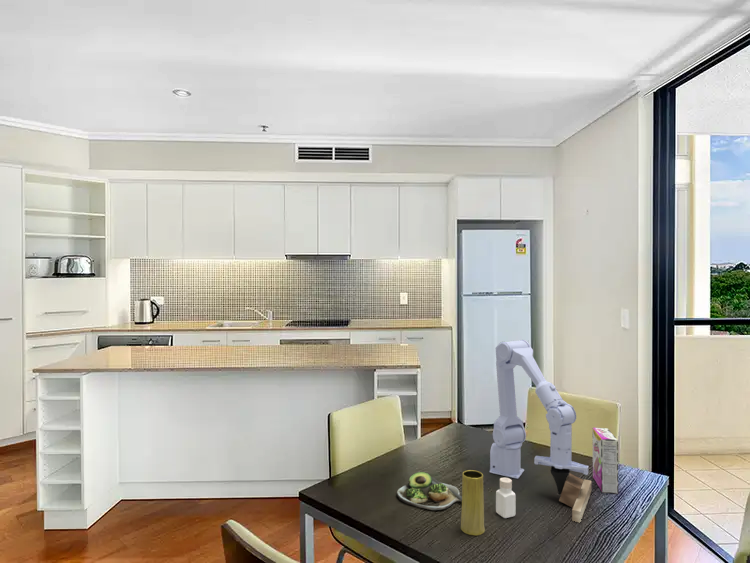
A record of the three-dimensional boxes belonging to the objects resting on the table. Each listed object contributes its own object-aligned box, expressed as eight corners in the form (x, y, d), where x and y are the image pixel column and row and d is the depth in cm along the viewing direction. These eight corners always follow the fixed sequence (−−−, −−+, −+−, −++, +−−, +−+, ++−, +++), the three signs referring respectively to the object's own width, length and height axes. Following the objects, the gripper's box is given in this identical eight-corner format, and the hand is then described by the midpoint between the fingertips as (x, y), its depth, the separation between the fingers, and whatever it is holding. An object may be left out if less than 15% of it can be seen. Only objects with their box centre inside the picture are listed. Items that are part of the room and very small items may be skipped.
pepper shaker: (495, 512, 128) (495, 478, 128) (506, 509, 130) (506, 475, 130) (504, 519, 125) (504, 484, 125) (516, 516, 126) (516, 481, 126)
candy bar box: (591, 477, 151) (591, 426, 151) (608, 478, 150) (608, 427, 150) (600, 493, 140) (601, 438, 140) (618, 494, 139) (619, 439, 139)
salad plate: (476, 495, 139) (476, 480, 139) (449, 520, 125) (449, 503, 125) (420, 479, 151) (420, 464, 151) (389, 500, 136) (389, 484, 136)
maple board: (572, 520, 124) (572, 509, 124) (584, 489, 143) (584, 479, 143) (580, 523, 123) (580, 511, 123) (591, 490, 142) (591, 480, 142)
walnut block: (558, 500, 133) (565, 481, 132) (563, 491, 139) (569, 473, 138) (573, 508, 131) (579, 489, 130) (577, 498, 137) (583, 479, 136)
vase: (457, 523, 123) (458, 469, 122) (480, 522, 123) (480, 468, 123) (464, 536, 116) (464, 479, 116) (488, 535, 117) (488, 478, 117)
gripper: (532, 446, 136) (531, 492, 136) (586, 456, 128) (585, 505, 129) (537, 438, 142) (537, 483, 142) (589, 448, 134) (589, 495, 135)
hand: (560, 493), depth 136 cm, fingers closed
